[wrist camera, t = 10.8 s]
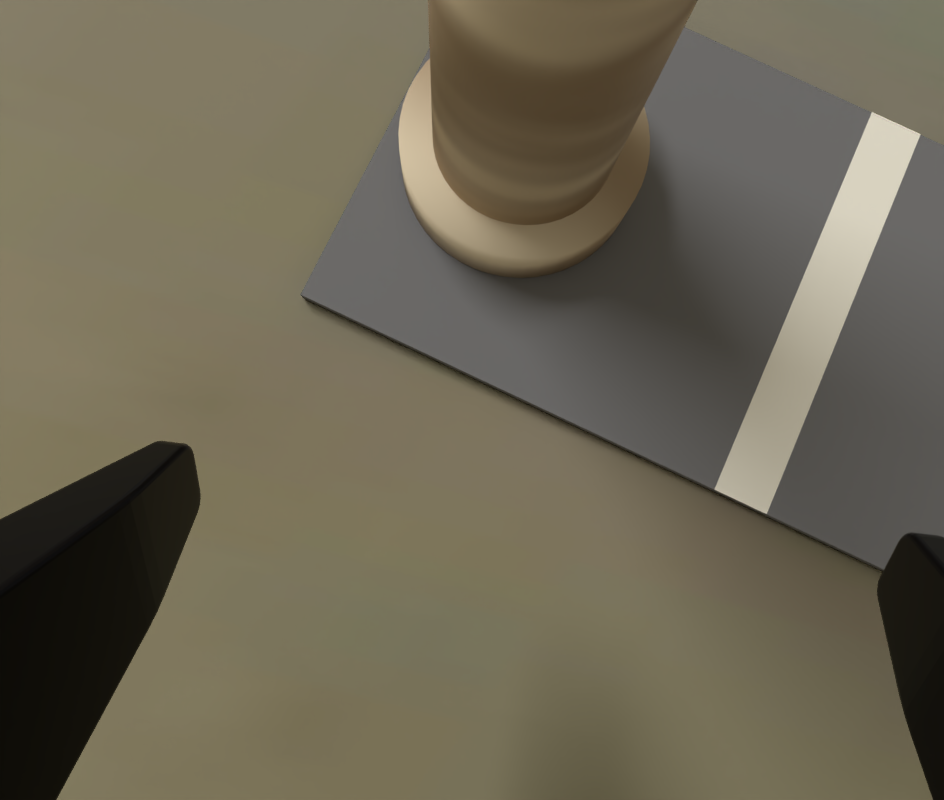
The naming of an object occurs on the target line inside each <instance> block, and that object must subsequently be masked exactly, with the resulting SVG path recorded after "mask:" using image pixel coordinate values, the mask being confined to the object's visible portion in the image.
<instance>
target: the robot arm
mask: <svg viewBox="0 0 944 800" xmlns="http://www.w3.org/2000/svg"><path fill="white" fill-rule="evenodd" d="M199 506H200V487H199V482H198V476H197V470H196V464H195V459H194V454H193V451H192V449H191V447H190V446H188V445H187V444H183V443H175V442H167V441H157V442H154V443H152V444H150V445H148V446H146V447H144V448H142V449H140V450H138V451H136V452H134V453H132V454H130V455H128V456H126V457H124V458H122V459H120V460H118V461H116V462H114V463H112V464H110V465H108V466H106V467H104V468H102V469H100V470H98V471H96V472H94V473H92V474H90V475H88V476H86V477H84V478H82V479H80V480H78V481H76V482H74V483H72V484H70V485H68V486H66V487H64V488H62V489H60V490H58V491H56V492H54V493H52V494H50V495H48V496H46V497H44V498H42V499H40V500H38V501H36V502H34V503H32V504H30V505H28V506H26V507H24V508H22V509H20V510H18V511H16V512H14V513H12V514H10V515H8V516H6V517H4V518H2V519H0V800H56V799H57V798H58V796H59V794H60V792H61V790H62V788H63V786H64V785H65V783H66V781H67V779H68V777H69V775H70V773H71V772H72V770H73V768H74V766H75V764H76V762H77V760H78V759H79V757H80V755H81V753H82V751H83V749H84V748H85V746H86V744H87V742H88V740H89V738H90V736H91V735H92V733H93V731H94V729H95V727H96V725H97V723H98V722H99V720H100V718H101V716H102V714H103V712H104V710H105V709H106V707H107V705H108V703H109V701H110V699H111V697H112V696H113V694H114V692H115V690H116V688H117V686H118V685H119V683H120V681H121V679H122V677H123V675H124V673H125V672H126V670H127V668H128V666H129V664H130V662H131V660H132V659H133V657H134V655H135V653H136V651H137V649H138V647H139V646H140V644H141V642H142V640H143V638H144V636H145V635H146V633H147V631H148V629H149V627H150V625H151V623H152V621H153V619H154V617H155V615H156V613H157V611H158V609H159V607H160V604H161V602H162V600H163V597H164V595H165V593H166V590H167V588H168V585H169V583H170V580H171V578H172V575H173V573H174V570H175V568H176V565H177V563H178V560H179V558H180V555H181V553H182V550H183V548H184V545H185V543H186V540H187V538H188V535H189V533H190V530H191V528H192V525H193V523H194V520H195V518H196V515H197V513H198V510H199ZM877 596H878V602H879V606H880V611H881V615H882V620H883V624H884V629H885V633H886V638H887V642H888V647H889V651H890V656H891V660H892V665H893V669H894V674H895V678H896V683H897V687H898V692H899V696H900V700H901V704H902V707H903V711H904V715H905V718H906V721H907V724H908V727H909V731H910V734H911V737H912V739H913V742H914V745H915V748H916V751H917V754H918V757H919V760H920V763H921V766H922V769H923V772H924V775H925V777H926V780H927V783H928V786H929V789H930V792H931V795H932V798H933V800H944V537H942V536H938V535H931V534H923V533H915V532H911V533H907V534H905V535H903V536H902V537H901V538H900V540H899V541H898V543H897V545H896V547H895V549H894V551H893V553H892V555H891V557H890V559H889V561H888V563H887V564H886V566H885V568H884V570H883V572H882V574H881V576H880V579H879V582H878V588H877Z"/></svg>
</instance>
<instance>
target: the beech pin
mask: <svg viewBox="0 0 944 800" xmlns="http://www.w3.org/2000/svg"><path fill="white" fill-rule="evenodd" d="M697 1H698V0H428V11H429V44H430V59H429V60H428V61H427V62H426V63H425V64H424V66H423V67H422V68H421V70H420V71H419V72H418V74H417V75H416V77H415V78H414V80H413V82H412V84H411V86H410V88H409V90H408V92H407V95H406V97H405V100H404V103H403V106H402V111H401V115H400V121H399V132H398V136H399V152H400V160H401V168H402V176H403V182H404V187H405V192H406V195H407V198H408V201H409V204H410V206H411V208H412V210H413V212H414V214H415V216H416V218H417V220H418V222H419V223H420V225H421V226H422V228H423V229H424V230H425V232H426V233H427V234H428V235H429V236H430V238H431V239H432V240H433V241H434V242H435V243H436V244H437V245H438V246H439V247H441V248H442V249H443V250H444V251H445V252H446V253H448V254H449V255H451V256H452V257H454V258H455V259H457V260H458V261H460V262H462V263H464V264H466V265H468V266H470V267H472V268H474V269H477V270H480V271H483V272H486V273H488V274H493V275H498V276H503V277H514V278H528V277H539V276H544V275H550V274H553V273H556V272H559V271H562V270H565V269H567V268H570V267H572V266H574V265H576V264H578V263H580V262H581V261H583V260H584V259H586V258H588V257H589V256H591V255H592V254H593V253H594V252H595V251H597V250H598V249H599V248H600V247H601V246H602V245H603V244H604V243H605V242H606V241H607V240H608V239H609V238H610V236H611V235H612V234H613V233H614V231H615V230H616V228H617V227H618V225H619V224H620V222H621V220H622V219H623V217H624V216H625V214H626V213H627V211H628V209H629V208H630V206H631V205H632V203H633V201H634V200H635V198H636V196H637V194H638V192H639V190H640V188H641V186H642V183H643V180H644V177H645V174H646V171H647V166H648V161H649V155H650V133H649V124H648V120H647V115H646V111H645V108H644V105H645V103H646V101H647V99H648V97H649V95H650V94H651V92H652V90H653V88H654V86H655V84H656V82H657V80H658V78H659V76H660V74H661V72H662V70H663V68H664V66H665V64H666V62H667V60H668V58H669V56H670V54H671V52H672V50H673V48H674V46H675V44H676V42H677V40H678V38H679V36H680V34H681V32H682V30H683V28H684V26H685V24H686V22H687V20H688V18H689V16H690V14H691V12H692V10H693V8H694V6H695V5H696V3H697Z"/></svg>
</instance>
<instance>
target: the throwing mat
mask: <svg viewBox="0 0 944 800" xmlns="http://www.w3.org/2000/svg"><path fill="white" fill-rule="evenodd" d="M429 59H430V48H429V50H428V52H427V54H426V56H425V58H424V59H423V61H422V63H421V65H420V67H419V69H418V71H417V73H416V75H417V74H418V72H419V71H420V70H421V68H422V67H423V66H424V64H425V63H426V62H427V61H428V60H429ZM416 75H415V77H416ZM415 77H414V78H415ZM413 80H414V79H413ZM413 80H412V82H413ZM412 82H411V84H412ZM411 84H410V86H411ZM410 86H409V88H410ZM409 88H408V90H409ZM408 90H407V92H408ZM407 92H406V94H405V96H404V98H403V100H402V101H401V103H400V105H399V107H398V109H397V111H396V113H395V115H394V117H393V119H392V121H391V123H390V124H389V126H388V128H387V130H386V132H385V134H384V136H383V138H382V140H381V142H380V144H379V145H378V147H377V149H376V151H375V153H374V155H373V157H372V159H371V161H370V163H369V165H368V166H367V168H366V170H365V172H364V174H363V176H362V178H361V180H360V182H359V184H358V186H357V187H356V189H355V191H354V193H353V195H352V197H351V199H350V201H349V203H348V205H347V207H346V209H345V210H344V212H343V214H342V216H341V218H340V220H339V222H338V224H337V226H336V228H335V230H334V231H333V233H332V235H331V237H330V239H329V241H328V243H327V245H326V247H325V249H324V251H323V252H322V254H321V256H320V258H319V260H318V262H317V264H316V266H315V268H314V270H313V272H312V274H311V275H310V277H309V279H308V281H307V283H306V285H305V287H304V289H303V291H302V293H301V296H302V297H303V298H304V299H306V300H308V301H311V302H313V303H315V304H317V305H319V306H321V307H323V308H325V309H328V310H330V311H332V312H334V313H336V314H338V315H340V316H342V317H344V318H347V319H349V320H351V321H353V322H355V323H357V324H359V325H361V326H364V327H366V328H368V329H370V330H372V331H374V332H376V333H378V334H381V335H383V336H385V337H387V338H389V339H391V340H393V341H395V342H398V343H400V344H402V345H404V346H406V347H408V348H410V349H412V350H414V351H417V352H419V353H421V354H423V355H425V356H427V357H429V358H431V359H434V360H436V361H438V362H440V363H442V364H444V365H446V366H448V367H451V368H453V369H455V370H457V371H459V372H461V373H463V374H465V375H468V376H470V377H472V378H474V379H476V380H478V381H480V382H482V383H484V384H487V385H489V386H491V387H493V388H495V389H497V390H499V391H501V392H504V393H506V394H508V395H510V396H512V397H514V398H516V399H518V400H521V401H523V402H525V403H527V404H529V405H531V406H533V407H535V408H538V409H540V410H542V411H544V412H546V413H548V414H550V415H552V416H554V417H557V418H559V419H561V420H563V421H565V422H567V423H569V424H571V425H574V426H576V427H578V428H580V429H582V430H584V431H586V432H588V433H591V434H593V435H595V436H597V437H599V438H601V439H603V440H605V441H607V442H610V443H612V444H614V445H616V446H618V447H620V448H622V449H624V450H627V451H629V452H631V453H633V454H635V455H637V456H639V457H641V458H644V459H646V460H648V461H650V462H652V463H654V464H656V465H658V466H661V467H663V468H665V469H667V470H669V471H671V472H673V473H675V474H677V475H680V476H682V477H684V478H686V479H688V480H690V481H692V482H694V483H697V484H699V485H701V486H703V487H705V488H707V489H709V490H711V491H714V492H716V493H718V494H720V495H722V496H724V497H726V498H728V499H731V500H733V501H735V502H737V503H739V504H741V505H743V506H745V507H747V508H750V509H752V510H754V511H756V512H758V513H760V514H762V515H764V516H767V517H769V518H771V519H773V520H775V521H777V522H779V523H781V524H784V525H786V526H788V527H790V528H792V529H794V530H796V531H798V532H801V533H803V534H805V535H807V536H809V537H811V538H813V539H815V540H817V541H820V542H822V543H824V544H826V545H828V546H830V547H832V548H834V549H837V550H839V551H841V552H843V553H845V554H847V555H849V556H851V557H854V558H856V559H858V560H860V561H862V562H864V563H866V564H868V565H871V566H873V567H875V568H877V569H879V570H881V571H883V570H884V568H885V566H886V564H887V563H888V561H889V559H890V557H891V555H892V553H893V551H894V549H895V547H896V545H897V543H898V541H899V540H900V538H901V537H902V536H903V535H905V534H907V533H911V532H915V533H923V534H931V535H938V536H942V537H944V145H942V144H939V143H937V142H935V141H933V140H931V139H928V138H926V137H924V136H922V135H921V134H919V133H917V132H914V131H912V130H910V129H908V128H906V127H903V126H901V125H899V124H897V123H895V122H893V121H890V120H888V119H886V118H884V117H882V116H879V115H877V114H875V113H873V112H872V113H871V112H869V111H867V110H865V109H863V108H861V107H858V106H856V105H854V104H852V103H850V102H847V101H845V100H843V99H841V98H839V97H836V96H834V95H832V94H830V93H828V92H825V91H823V90H821V89H819V88H817V87H814V86H812V85H810V84H808V83H806V82H804V81H801V80H799V79H797V78H795V77H793V76H790V75H788V74H786V73H784V72H782V71H779V70H777V69H775V68H773V67H771V66H768V65H766V64H764V63H762V62H760V61H757V60H755V59H753V58H751V57H749V56H747V55H744V54H742V53H740V52H738V51H736V50H733V49H731V48H729V47H727V46H725V45H722V44H720V43H718V42H716V41H714V40H711V39H709V38H707V37H705V36H703V35H700V34H698V33H696V32H694V31H692V30H690V29H687V28H685V27H684V28H683V30H682V32H681V34H680V36H679V38H678V40H677V42H676V44H675V46H674V48H673V50H672V52H671V54H670V56H669V58H668V60H667V62H666V64H665V66H664V68H663V70H662V72H661V74H660V76H659V78H658V80H657V82H656V84H655V86H654V88H653V90H652V92H651V94H650V95H649V97H648V99H647V101H646V103H645V105H644V108H645V111H646V115H647V120H648V124H649V133H650V155H649V161H648V166H647V171H646V174H645V177H644V180H643V183H642V186H641V188H640V190H639V192H638V194H637V196H636V198H635V200H634V201H633V203H632V205H631V206H630V208H629V209H628V211H627V213H626V214H625V216H624V217H623V219H622V220H621V222H620V224H619V225H618V227H617V228H616V230H615V231H614V233H613V234H612V235H611V236H610V238H609V239H608V240H607V241H606V242H605V243H604V244H603V245H602V246H601V247H600V248H599V249H598V250H597V251H595V252H594V253H593V254H592V255H591V256H589V257H588V258H586V259H584V260H583V261H581V262H580V263H578V264H576V265H574V266H572V267H570V268H567V269H565V270H562V271H559V272H556V273H553V274H550V275H544V276H539V277H528V278H514V277H503V276H498V275H493V274H488V273H486V272H483V271H480V270H477V269H474V268H472V267H470V266H468V265H466V264H464V263H462V262H460V261H458V260H457V259H455V258H454V257H452V256H451V255H449V254H448V253H446V252H445V251H444V250H443V249H442V248H441V247H439V246H438V245H437V244H436V243H435V242H434V241H433V240H432V239H431V238H430V236H429V235H428V234H427V233H426V232H425V230H424V229H423V228H422V226H421V225H420V223H419V222H418V220H417V218H416V216H415V214H414V212H413V210H412V208H411V206H410V204H409V201H408V198H407V195H406V192H405V187H404V182H403V176H402V168H401V160H400V152H399V136H398V132H399V121H400V115H401V111H402V106H403V103H404V100H405V97H406V95H407Z"/></svg>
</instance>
